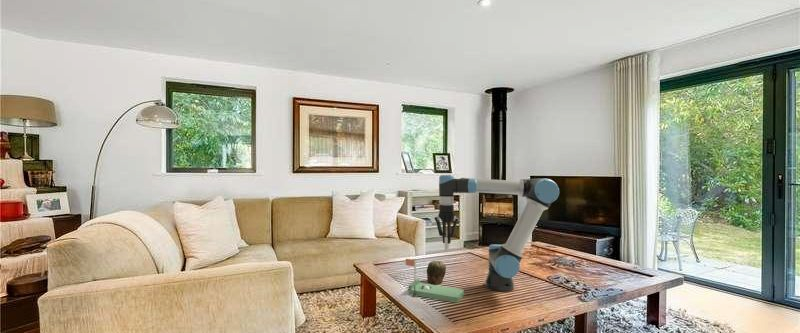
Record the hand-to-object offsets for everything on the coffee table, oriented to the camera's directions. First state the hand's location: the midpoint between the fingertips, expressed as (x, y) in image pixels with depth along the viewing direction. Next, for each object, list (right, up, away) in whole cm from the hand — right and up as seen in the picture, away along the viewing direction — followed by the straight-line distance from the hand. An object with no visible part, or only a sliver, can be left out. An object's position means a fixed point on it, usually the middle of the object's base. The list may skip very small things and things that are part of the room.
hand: (446, 249), depth 173 cm
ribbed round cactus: (-4, -23, +17) cm, 29 cm away
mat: (-6, -23, -2) cm, 23 cm away
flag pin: (-19, -23, -4) cm, 30 cm away
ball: (-11, -21, 0) cm, 23 cm away
